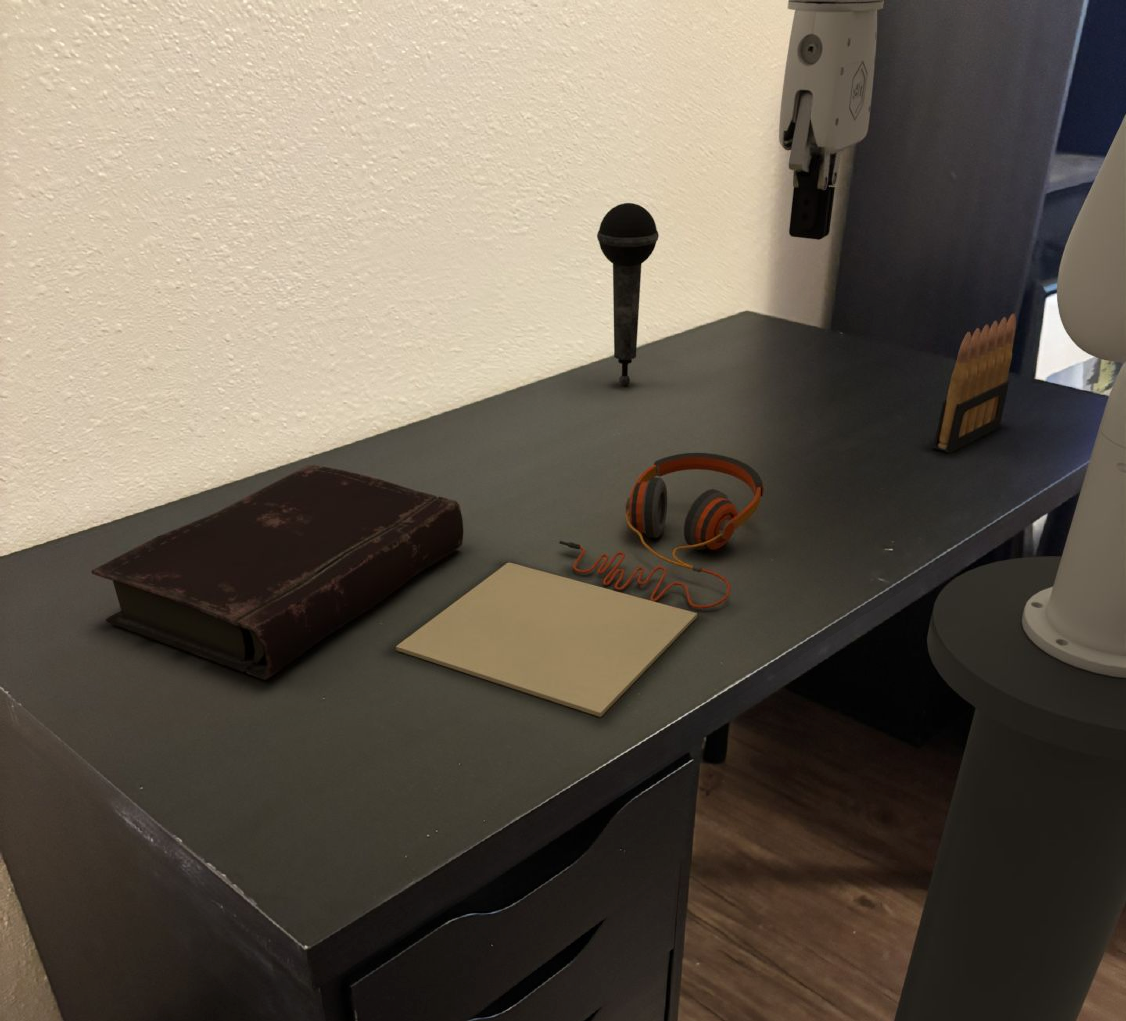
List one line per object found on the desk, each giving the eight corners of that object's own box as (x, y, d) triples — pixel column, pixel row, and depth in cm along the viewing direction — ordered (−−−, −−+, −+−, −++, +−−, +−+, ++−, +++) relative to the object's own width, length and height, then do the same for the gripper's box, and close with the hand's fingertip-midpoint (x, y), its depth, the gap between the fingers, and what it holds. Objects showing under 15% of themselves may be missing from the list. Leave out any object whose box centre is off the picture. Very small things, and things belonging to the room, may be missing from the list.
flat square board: (697, 617, 89) (697, 613, 88) (600, 717, 78) (600, 712, 77) (508, 566, 96) (508, 561, 96) (396, 650, 85) (395, 646, 85)
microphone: (628, 372, 137) (632, 194, 125) (664, 387, 132) (672, 204, 120) (584, 384, 133) (584, 202, 121) (620, 399, 129) (623, 212, 117)
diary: (468, 551, 98) (464, 499, 95) (274, 687, 81) (262, 628, 78) (308, 507, 106) (300, 457, 103) (100, 623, 89) (83, 567, 86)
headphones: (714, 642, 90) (808, 503, 101) (712, 592, 86) (810, 453, 97) (540, 593, 97) (645, 468, 108) (531, 545, 93) (640, 420, 104)
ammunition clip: (948, 453, 115) (972, 335, 108) (932, 449, 116) (955, 331, 109) (1000, 427, 121) (1026, 313, 114) (984, 422, 122) (1009, 309, 115)
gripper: (852, -8, 81) (819, 259, 92) (911, -17, 91) (875, 224, 102) (756, -9, 84) (736, 249, 95) (824, -18, 94) (799, 216, 105)
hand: (808, 235), depth 99 cm, fingers closed
